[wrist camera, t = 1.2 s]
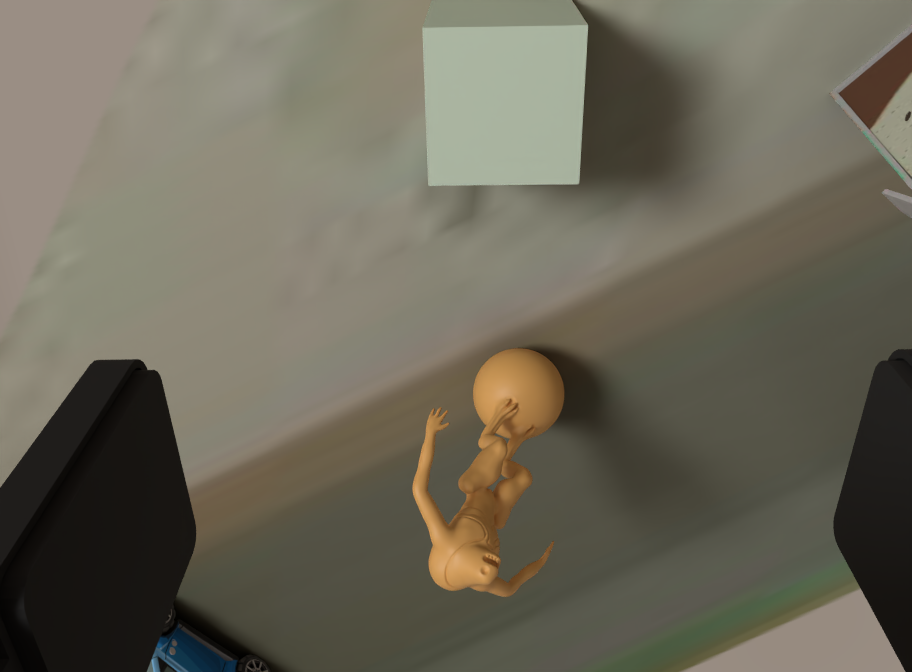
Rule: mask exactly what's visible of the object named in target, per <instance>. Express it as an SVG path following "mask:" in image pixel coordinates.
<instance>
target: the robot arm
mask: <svg viewBox="0 0 912 672" xmlns="http://www.w3.org/2000/svg"><path fill="white" fill-rule="evenodd" d="M833 528H834V535H835V539H836V542H837V545H838V547H839V549H840V551H841V553H842V555H843V556H844V558H845V560H846V562H847V564H848V566H849V568H850V569H851V571H852V573H853V575H854V577H855V579H856V581H857V582H858V584H859V586H860V588H861V590H862V591H863V594H864V595H865V597H866V599H867V601H868V603H869V604H870V606H871V608H872V610H873V612H874V614H875V616H876V618H877V620H878V621H879V623H880V625H881V627H882V629H883V630H884V633H885V634H886V636H887V638H888V640H889V642H890V644H891V646H892V647H893V649H894V651H895V653H896V655H897V657H898V659H899V660H900V662H901V664H902V666H903V668H904V670H905V671H906V672H912V349H898V350H896V351H894V352H893V353H892V354H891V356H890V357H889V359H888V361H881V362H879V363H878V365H877V366H876V368H875V371H874V374H873V377H872V381H871V385H870V388H869V392H868V395H867V399H866V403H865V406H864V410H863V414H862V417H861V421H860V425H859V428H858V432H857V435H856V439H855V443H854V446H853V450H852V454H851V457H850V461H849V465H848V468H847V472H846V475H845V479H844V483H843V486H842V490H841V494H840V497H839V501H838V505H837V508H836V512H835V516H834V527H833ZM195 541H196V524H195V519H194V515H193V511H192V507H191V502H190V498H189V494H188V490H187V485H186V481H185V477H184V473H183V468H182V464H181V460H180V456H179V452H178V447H177V443H176V439H175V435H174V430H173V426H172V422H171V418H170V414H169V409H168V405H167V401H166V397H165V392H164V388H163V384H162V380H161V377H160V375H159V373H158V372H157V371H155V370H147V367H146V366H145V364H144V362H143V361H141V360H139V359H133V360H96V361H94V362H93V363H92V364H90V366H89V367H88V368H87V370H86V371H85V372H84V374H83V375H82V377H81V378H80V379H79V381H78V382H77V383H76V385H75V386H74V388H73V389H72V390H71V392H70V393H69V394H68V396H67V397H66V399H65V400H64V401H63V403H62V404H61V405H60V407H59V408H58V410H57V411H56V412H55V414H54V415H53V416H52V418H51V419H50V420H49V422H48V423H47V425H46V426H45V427H44V429H43V430H42V431H41V433H40V434H39V436H38V437H37V438H36V440H35V441H34V442H33V444H32V445H31V447H30V448H29V449H28V451H27V452H26V453H25V455H24V456H23V458H22V459H21V460H20V462H19V463H18V464H17V466H16V467H15V469H14V470H13V471H12V473H11V474H10V475H9V477H8V478H7V479H6V481H5V482H4V483H3V485H2V486H1V488H0V672H147V670H148V667H149V665H150V662H151V660H152V657H153V654H154V652H155V649H156V647H157V644H158V642H159V639H160V636H161V634H162V631H163V629H164V626H165V623H166V621H167V618H168V616H169V613H170V611H171V608H172V605H173V603H174V600H175V598H176V595H177V592H178V590H179V587H180V585H181V582H182V579H183V577H184V574H185V572H186V569H187V567H188V564H189V561H190V559H191V556H192V554H193V551H194V547H195Z"/></svg>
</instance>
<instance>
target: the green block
mask: <svg viewBox="0 0 912 672" xmlns="http://www.w3.org/2000/svg"><path fill="white" fill-rule="evenodd" d="M587 36H588V24H587V23H586V21H585V20H584V18H583V17H582V15H581V13H580V12H579V10H578V9H577V7H576V6H575V4H574V3H573V1H572V0H432V1H431V4H430V7H429V10H428V13H427V16H426V19H425V22H424V25H423V54H424V82H425V109H426V136H427V163H428V186H439V185H544V184H579V177H580V159H581V142H582V124H583V106H584V89H585V71H586V54H587Z"/></svg>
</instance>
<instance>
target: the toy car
mask: <svg viewBox="0 0 912 672" xmlns="http://www.w3.org/2000/svg"><path fill="white" fill-rule="evenodd" d="M174 618H175V610H174V605H172V608H171V611H170V613H169V616H168V618H167V621H166V623H165V626H164V629H163V631H162V634H161V636H160V639H159V642H158V644H157V647H156V649H155V652H154V654H153V657H152V660H151V662H150V665H149V667H148V670H147V672H271V671H270V668H269V666H268V665H266V662H264V661H263V660H262V659H260V658H259V657H257V656H255V655H254V656H252V655H246V656H245V657H243V658H241V659H240V660H238V659H239V657H237V656H236V655H234V654H232V653H231V652H229V651H228V650H226V649H225V648H223V647H222V646H220V645H219V644H217V643H216V642H214V641H213V640H211V639H209V638H208V637H206V636H205V635H203V634H202V633H200V632H199V631H197V630H196V629H194V628H193V627H191V626H190V625H188V624H186V623H185V622H183V621H182V620H180V619H179V620H177V621H176V622H174Z"/></svg>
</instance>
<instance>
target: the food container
mask: <svg viewBox="0 0 912 672" xmlns="http://www.w3.org/2000/svg"><path fill="white" fill-rule="evenodd" d="M829 94H830V95H831V96H832V98H833V99H834V100H835V101H836V102H837V103H838V104H839V106H840V107H841V108H842V109H843V110H844V111H845V113H846V114H847V115H848V116H849V117H850V118H851V120H852V121H853V122H854V123H855V124H856V125H857V127H858V128H859V129H860V130H861V131H862V132H863V134H864V135H865V136H866V137H867V138H868V139H869V141H870V142H871V143H872V144H873V145H874V146H875V148H876V149H877V150H878V151H879V152H880V153H881V155H882V156H883V157H884V158H885V159H886V160H887V162H888V163H889V164H890V165H891V166H892V167H893V169H894V170H895V171H896V172H897V173H898V174H899V175H900V177H901V178H902V179H903V180H904V181H905V182H906V184H907V185H908V186H909V187H910V188H911V189H912V24H911V25H910V26H909V27H908V28H907V29H906V30H904V31H903V32H902V33H901V34H900V35H898V36H897V37H896V38H895V39H894V40H892V41H891V42H890V43H889V44H888V45H886V46H885V47H884V48H883V49H882V50H880V51H879V52H878V53H877V54H876V55H874V56H873V57H872V58H871V59H870V60H868V61H867V62H866V63H865V64H864V65H863V66H861V67H860V68H859V69H858V70H857V71H855V72H854V73H853V74H852V75H851V76H849V77H848V78H847V79H846V80H845V81H843V82H842V83H841V84H840V85H839V86H837V87H836V88H835V89H834V90H833V91H831V92H830V93H829ZM882 193H883V194H884V195H885V196H886V197H887V198H888V199H889V200H890V201H891V202H892V203H893V204H894V205H895V206H896V207H897V208H898V209H899V210H900V211H901V212H903V213H904V214H906V215H907V216H909V217H910V218H912V197H909V196H906V195H903V194H900V193H897V192H894V191H891V190H888V189H885V190H884V191H883V192H882Z"/></svg>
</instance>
